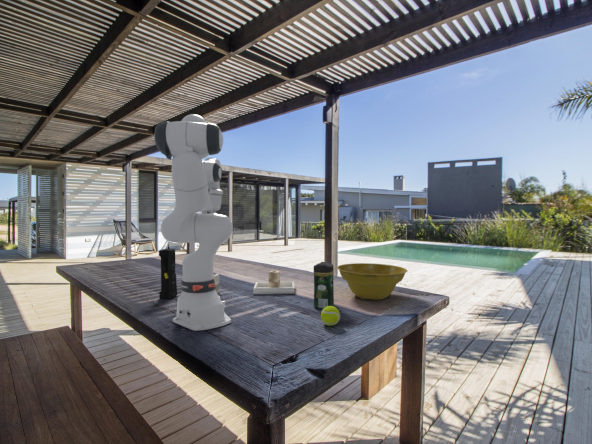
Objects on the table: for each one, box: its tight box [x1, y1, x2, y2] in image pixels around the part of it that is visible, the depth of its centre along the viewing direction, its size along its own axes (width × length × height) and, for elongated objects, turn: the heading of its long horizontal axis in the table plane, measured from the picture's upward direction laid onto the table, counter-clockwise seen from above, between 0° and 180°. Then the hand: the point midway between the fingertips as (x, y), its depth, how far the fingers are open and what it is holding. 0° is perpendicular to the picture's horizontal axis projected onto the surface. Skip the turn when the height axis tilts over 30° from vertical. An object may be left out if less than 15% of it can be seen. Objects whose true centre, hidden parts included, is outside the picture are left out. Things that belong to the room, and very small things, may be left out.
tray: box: [252, 281, 296, 295], centre depth 160 cm, size 20×14×3 cm
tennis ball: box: [320, 305, 341, 327], centre depth 109 cm, size 7×7×7 cm
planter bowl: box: [336, 262, 408, 300], centre depth 148 cm, size 32×32×13 cm
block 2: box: [268, 270, 281, 288], centre depth 160 cm, size 5×5×9 cm
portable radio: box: [158, 243, 178, 300], centre depth 147 cm, size 8×6×25 cm
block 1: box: [213, 273, 220, 294], centre depth 156 cm, size 5×5×9 cm
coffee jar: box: [313, 261, 335, 310], centre depth 131 cm, size 10×8×19 cm
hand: (208, 220), depth 152 cm, fingers open, 8 cm apart
